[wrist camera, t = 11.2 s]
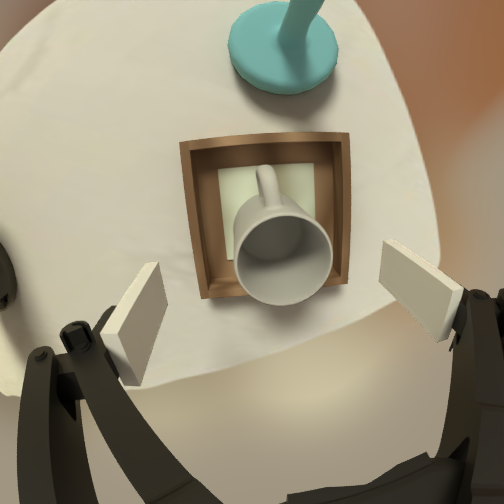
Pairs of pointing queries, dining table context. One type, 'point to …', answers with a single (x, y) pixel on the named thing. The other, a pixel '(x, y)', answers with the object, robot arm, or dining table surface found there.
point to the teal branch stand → (283, 46)
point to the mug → (279, 246)
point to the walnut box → (245, 186)
